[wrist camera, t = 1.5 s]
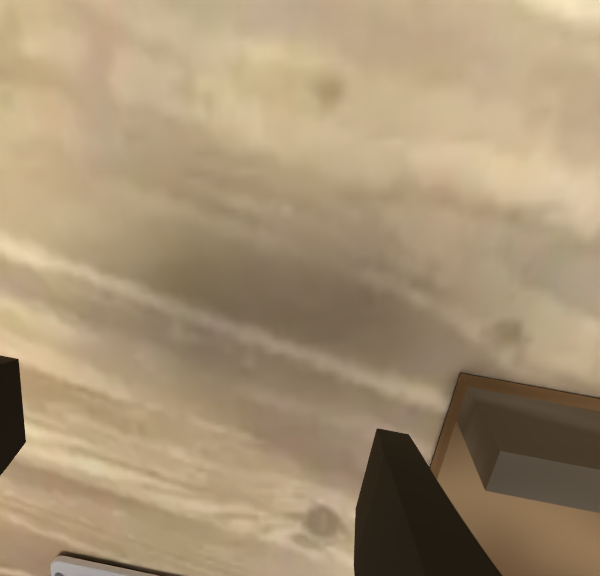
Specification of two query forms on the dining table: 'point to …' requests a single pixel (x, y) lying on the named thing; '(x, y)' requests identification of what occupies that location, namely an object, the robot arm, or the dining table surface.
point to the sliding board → (524, 475)
